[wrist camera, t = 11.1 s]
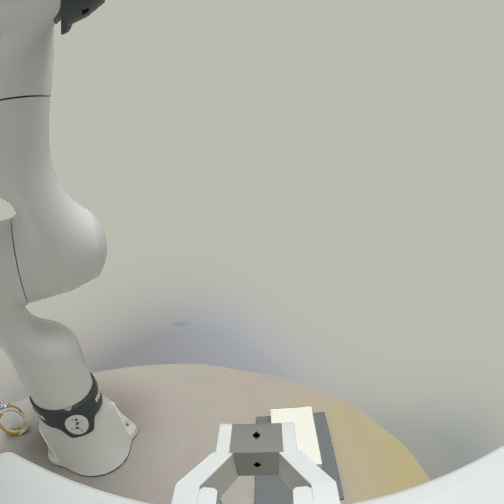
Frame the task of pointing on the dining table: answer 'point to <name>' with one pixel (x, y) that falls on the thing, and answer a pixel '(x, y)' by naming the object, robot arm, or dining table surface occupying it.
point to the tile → (301, 430)
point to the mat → (274, 488)
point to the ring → (5, 407)
